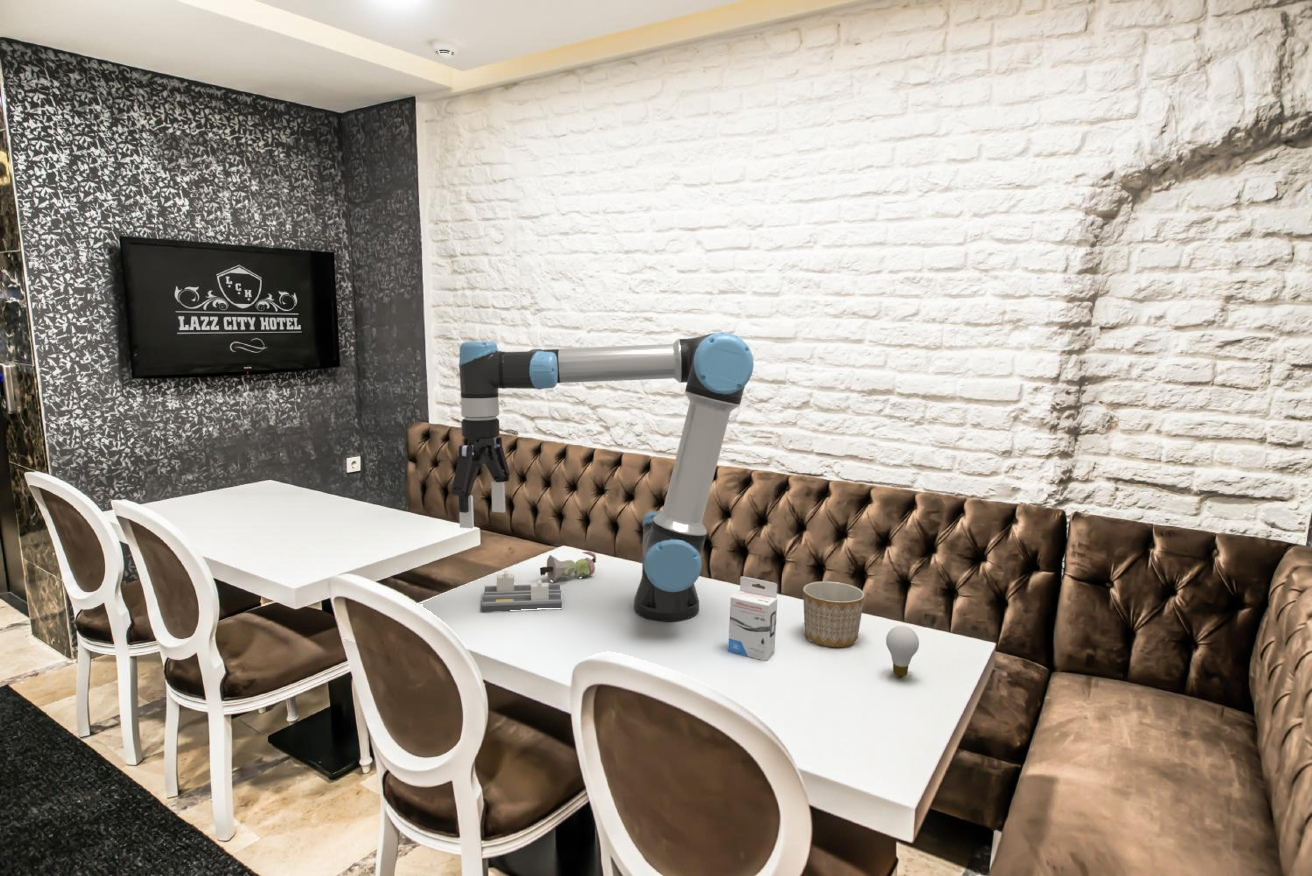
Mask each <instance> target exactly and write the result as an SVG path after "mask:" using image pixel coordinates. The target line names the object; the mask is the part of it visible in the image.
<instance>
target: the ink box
mask: <svg viewBox="0 0 1312 876" xmlns="http://www.w3.org/2000/svg"><path fill="white" fill-rule="evenodd" d="M758 584H759V586H761V587H764V588H760V587H757V586H753V585H758ZM739 589H740V590H738V591H737V592H735V593H734V594H732V595H731V596H730V604H729V605H730V608H729V623H728V624H729V626H728V647H727V650H728V652H730V653H734V654H737V655H741V656H745V657H749V658H753V659H757V660H760V661H764V662H766V661H768V660H769V659H770V658H771V657H772V655H773V654H774V653H775V649H776V634H777V633H776V632H777V613H778V612H777V611H778V598H777V595H778V584H777V583H776V582H772V581H767V580H762V579H758V578H753V577H747V576H744V575H743V576H740V577H739Z"/></svg>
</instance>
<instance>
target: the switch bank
mask: <svg viewBox="0 0 1312 876" xmlns="http://www.w3.org/2000/svg"><path fill="white" fill-rule="evenodd" d="M548 585H549V600H533V601H531V583H529V584H514V591H506V592H497V585H484V591H483V593H482V594H483V595H482V602H481V613H494V612H493V611H508V612H511V611H510V610H521V609H537V608H562V609H563V600H562V591H561V590H562V589H561V583H560V582H559V583H548Z"/></svg>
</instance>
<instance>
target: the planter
mask: <svg viewBox="0 0 1312 876" xmlns="http://www.w3.org/2000/svg"><path fill="white" fill-rule="evenodd" d="M802 596H803V599H802V600H803V601H802V602H803V618H804V619H803V620H804V621H803V623H804V634H805V636H806V638H807V639H809V641H810V642H813V643H815V644H817V645H820V646H823V647H828V648H846V647H849V646H850V647H851V646H852V645H854V644H855V642H857V641H858V637H859V632H860V631H859V630H860V625H861V621H862V614H863V607H864V606H863V605H864V600H865V592H864V591H863V590H862V589H860V588H858V587H857V586H854V585H853V584H852V585H851V584H847V583H843V582H837V581H829V580H828V581H827V580H826V581H825V580H824V581H823V580H822V581H814V582H811V583H808V584H805V585H804V586H803V588H802Z"/></svg>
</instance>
